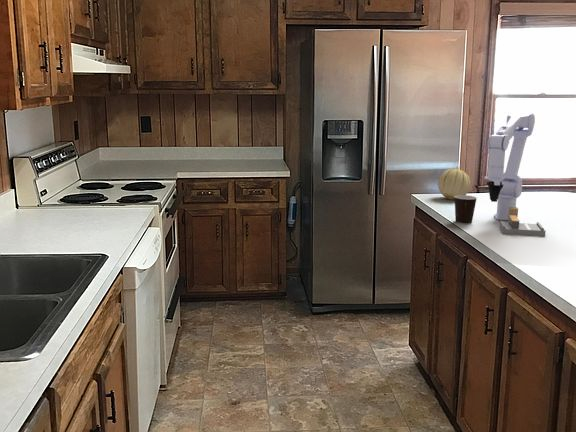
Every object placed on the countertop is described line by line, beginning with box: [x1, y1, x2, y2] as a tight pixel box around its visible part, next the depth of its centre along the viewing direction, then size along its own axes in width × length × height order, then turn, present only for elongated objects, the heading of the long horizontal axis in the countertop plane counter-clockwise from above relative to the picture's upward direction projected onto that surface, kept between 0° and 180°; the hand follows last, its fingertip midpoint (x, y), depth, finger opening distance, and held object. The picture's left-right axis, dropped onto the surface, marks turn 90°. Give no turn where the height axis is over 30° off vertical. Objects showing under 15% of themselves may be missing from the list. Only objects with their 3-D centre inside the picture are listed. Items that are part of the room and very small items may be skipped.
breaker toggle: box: [509, 215, 520, 228], centre depth 242 cm, size 9×2×3 cm, turn 169°
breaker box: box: [498, 220, 547, 237], centre depth 242 cm, size 11×15×3 cm
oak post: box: [507, 206, 519, 223], centre depth 251 cm, size 3×3×7 cm
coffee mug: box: [453, 194, 478, 224], centre depth 255 cm, size 12×9×10 cm
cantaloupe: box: [437, 166, 471, 200], centre depth 302 cm, size 15×15×15 cm
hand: (493, 200), depth 249 cm, fingers open, 3 cm apart
